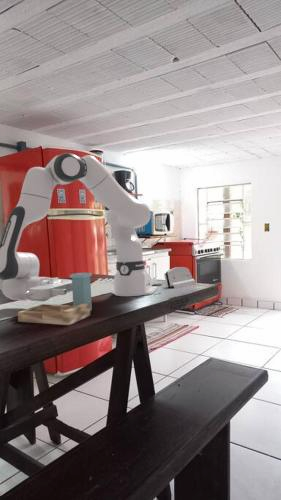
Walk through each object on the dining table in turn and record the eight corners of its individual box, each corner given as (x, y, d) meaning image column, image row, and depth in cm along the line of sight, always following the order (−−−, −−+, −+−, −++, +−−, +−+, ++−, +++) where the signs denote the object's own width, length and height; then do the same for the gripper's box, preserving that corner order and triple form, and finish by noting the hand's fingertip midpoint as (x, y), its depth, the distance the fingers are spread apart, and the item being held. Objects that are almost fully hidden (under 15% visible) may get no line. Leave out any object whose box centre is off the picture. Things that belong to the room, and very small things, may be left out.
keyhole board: (43, 312, 120) (42, 301, 120) (90, 315, 112) (89, 303, 112) (18, 321, 109) (17, 308, 109) (69, 325, 101) (68, 311, 101)
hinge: (174, 288, 159) (168, 267, 161) (167, 291, 162) (161, 270, 164) (196, 283, 171) (190, 264, 173) (189, 286, 174) (183, 267, 176)
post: (80, 309, 123) (78, 272, 122) (93, 309, 121) (91, 272, 120) (71, 312, 118) (69, 274, 117) (85, 313, 116) (83, 274, 115)
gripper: (20, 285, 116) (54, 285, 111) (57, 276, 135) (87, 276, 130) (21, 303, 117) (55, 304, 111) (58, 292, 135) (88, 293, 130)
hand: (73, 289), depth 121 cm, fingers open, 8 cm apart
